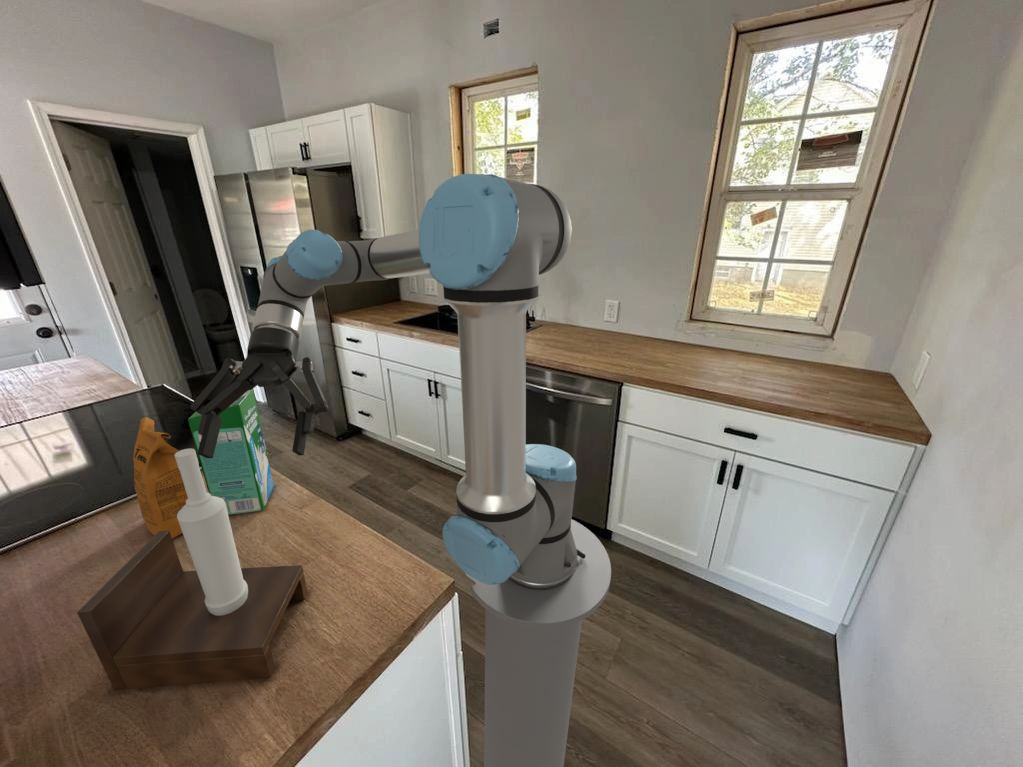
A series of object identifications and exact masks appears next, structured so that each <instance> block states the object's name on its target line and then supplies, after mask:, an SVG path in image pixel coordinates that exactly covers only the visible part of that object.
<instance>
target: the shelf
mask: <svg viewBox="0 0 1023 767" xmlns="http://www.w3.org/2000/svg"><path fill="white" fill-rule="evenodd" d="M178 555H179V554H178V551H177V549H176V546H175V543H174V540H173V539H172V537H171V534H170V531H158V532H157V533H156V534H155V535H153V536H152V537H151V538H150V539H149V541H147V542H146V543H145V544H144V545H143V546H142V547H141V548H140V549H139V550H138V551H137V552H136V553H135V554H134V555H133V556H132V557H131V558H130V559H129V560H127V562H126V563H125V564H124V565H122V567H121V568H120V569H119V570H118V571H117V572H115V574H114V575H112V577H111V578H110V579H109V580H107V582H106V583H105V584H104V585H103V586H102V587H100V589H99V590H98V591H96V593H95V594H93V596H92V597H91V598H90V599H88V600H87V601H86V602H85V604H84V605H82V607H81V608H80V609H79V610H78V611H77V612H76V613H77V615H78V618H79V620H80V622H81V624H82V626H83V628H84V630H85V633H86V634H87V637H88V639H89V641H90V643H91V646H92V647H93V649H94V651H95V653H96V655H97V657H98V659H99V662H100V664H101V666H102V668H103V670H104V672H105V675H106V676H107V678H108V680H109V683H110V684H111V686H112V688H113V690H114V691H121V690H133V689H145V688H156V687H157V688H158V687H170V686H183V685H195V684H196V685H197V684H198V685H199V684H209V683H210V684H211V683H222V682H235V681H247V680H249V681H250V680H257V679H258V680H261V679H270V678H271V677H272V676H273V673H274V670H275V668H276V664H275V661H274V657H273V654H272V650H271V646H270V643H271V642H272V640H273V638H274V636H275V633H276V632H277V629H278V627H279V625H280V622H281V620H282V619H283V616H284V615H285V612H286V610H287V608H288V606H289V603H290V602H291V601H292V602H294V601H305V600H306V597H307V595H308V589H307V588H308V587H307V582H306V579H305V573H304V567H303V565H302V564H298V565H296V564H295V565H281V566H280V565H278V566H259V567H241V571H242V575H243V580H245V582H246V583H247V586H248V596H247V599H246V601H245V602H244V604H243V605H242V606H241V607H239V608H238V609H237V610H235V611H233V612H231V613H229V614H226V615H221V616H216V615H213V614H211V613H210V612H209V611H208V609H207V607H206V604H205V602H204V601H205V597H206V596H205V594H204V591H203V588H202V585H201V583H200V580H199V577H198V574H197V571H196V570H183V566H182V563H181V561H180V558H179V556H178Z"/></svg>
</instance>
